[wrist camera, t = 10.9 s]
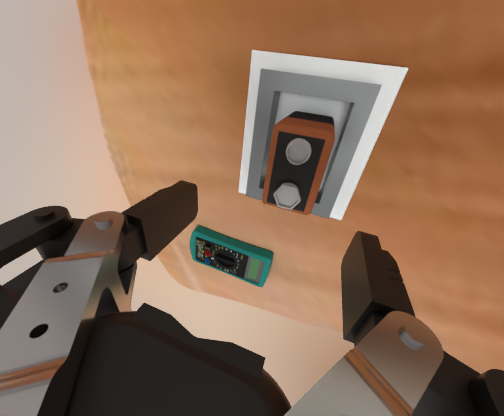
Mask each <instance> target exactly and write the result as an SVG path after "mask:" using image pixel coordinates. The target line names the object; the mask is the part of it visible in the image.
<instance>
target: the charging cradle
mask: <svg viewBox="0 0 504 416" xmlns="http://www.w3.org/2000/svg"><path fill="white" fill-rule="evenodd" d="M407 70H408V68H405V67H396V66H387V65H379V64H370V63H361V62H353V61H344V60H335V59H327V58H318V57H309V56H301V55H292V54H283V53H275V52H266V51H258V50H252V58H251V68H250V78H249V89H248V99H247V110H246V120H245V130H244V141H243V151H242V161H241V172H240V182H239V192H240V193H243V194H246V196H248V197H252V198H255V199H259V200H262V195H263V188H264V182H265V176H266V169H267V163H268V157H269V151H270V144H271V138H272V132H273V128H274V126H275V124H276V123H278V122H279V121H281V120H282V119H284V118H285V117H287V116H288V115H290V114H291V113H293V112H295V111H300V112H306V113H312V114H318V115H325V116H330V117H333V119H334V128H335V141H334V145H333V148H332V151H331V154H330V157H329V160H328V163H327V167H326V170H325V173H324V176H323V179H322V182H321V185H320V188H319V191H318V194H317V197H316V200H315V204H314V207H313V209H312V212H311V213H310V214H313V215H317V216H321V217H324V218H328V219H329V217H331V218H335V219H339V220H342V217H343V215H344V213H345V210H346V208H347V206H348V204H349V201H350V199H351V197H352V195H353V192H354V190H355V188H356V186H357V183H358V181H359V179H360V177H361V174H362V172H363V170H364V168H365V165H366V163H367V161H368V159H369V156H370V154H371V152H372V149H373V147H374V145H375V143H376V140H377V138H378V136H379V134H380V131H381V129H382V127H383V125H384V122H385V120H386V118H387V116H388V113H389V111H390V109H391V107H392V104H393V102H394V100H395V97H396V95H397V93H398V91H399V88H400V86H401V84H402V82H403V79H404V77H405V75H406V73H407Z"/></svg>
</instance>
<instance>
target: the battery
mask: <svg viewBox="0 0 504 416" xmlns="http://www.w3.org/2000/svg"><path fill="white" fill-rule="evenodd" d="M334 141H335V128H334V119H333V117H330V116H325V115H318V114H312V113H306V112H300V111H295V112H293V113H291V114H290V115H288V116H287V117H285V118H284V119H282V120H281V121H279V122H278V123H276V124H275V126H274V128H273V132H272V138H271V144H270V151H269V157H268V163H267V169H266V176H265V182H264V188H263V195H262V201H263V203H264V204H267V205H271V206H274V207H278V208H282V209H285V210H289V211H293V212H297V213H300V214H304V215H308V214H310V213H311V212H312V209H313V207H314V204H315V200H316V197H317V194H318V191H319V188H320V185H321V182H322V179H323V176H324V173H325V170H326V167H327V163H328V160H329V157H330V154H331V151H332V148H333V145H334Z"/></svg>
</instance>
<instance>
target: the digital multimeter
mask: <svg viewBox="0 0 504 416" xmlns="http://www.w3.org/2000/svg"><path fill="white" fill-rule="evenodd" d="M190 250H191V255H192V258H193V260H194V261H196V262H199V263H201V264H204V265H207V266H209V267H212V268H214V269H217V270H220V271H222V272H225V273H227V274H230V275H232V276H234V277H237V278H239V279H242V280H244V281H246V282H249V283H251V284H253V285H256V286H259V287H263V285H264V283H265V281H266V279H267V276H268V273H269V270H270V267H271V263H272V259H273V253H272V252H271V251H268V250H265V249H262V248H259V247H256V246H253V245H250V244H247V243H244V242H241V241H238V240H236V239H233V238H230V237H227V236H225V235H222V234H220V233H217V232H214V231H212V230H210V229H207V228H205V227H202V226H198V227H197V228H196V229H195V230H194V231H193V232H192V235H191V239H190Z"/></svg>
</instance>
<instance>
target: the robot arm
mask: <svg viewBox="0 0 504 416" xmlns="http://www.w3.org/2000/svg"><path fill="white" fill-rule="evenodd" d="M197 212H198V196H197V186H196V185H195V184H193V183H189V182H186V181H182V180H181V181H179V182H177V183H176V184H174V185H172V186H171V187H168V188H164V189H161V190H159V191H157V192H155V193H154V194H152V195H150V196H149V197H147V198H146V199H144V200H142V201H140V202H139V203H137V204H135V205H134V206H132V207H130V208H129V209H127V210H125V211H123V212H122V213H119V212H115V211H106V212H101V213H97V214H94V215H92V216H90V217H88V218H87V219H76V218H71V216H70V214H69V211H68V209H67V208H65V207H62V206H48V207H43V208H39V209H36V210H33V211H30V212H28V213H26V214H24V215H22V216H19V217H17V218H15V219H13V220H10V221H8V222H6V223H3V224H1V225H0V268H2V267H3V266H4V265H6V264H8V263H9V262H11V261H13V260H15V259H16V258H18V257H20V256H22V255H23V254H25V253H27V252H28V251H30V250H32V249H34V248H36V249H37V250H38V252H39V253H40V255H41V257H42V258H43V260H42V261H40V262H39V263H37V264H36V265H34V266H32V267H31V268H29V269H28V270H26V271H24V272H23V273H21V274H20V275H18V276H17V277H15V278H14V279H12V280H10V281H9V282H7V283H6V284H4V285H2V286H1V285H0V416H504V371H502V370H498V369H491V370H488V371H486V372H484V373H483V374H480V373H478V372H476V371H475V370H473V369H472V368H470V367H468V366H467V365H465V364H464V363H462V362H460V361H459V360H457V359H456V358H454V357H452V356H451V355H449V354H448V353H446V352H445V351H443V348H442V345H441V343H440V341H439V340H438V338H437V337H436V335H435V334H434V333H433V332H432V330H431V329H430V328H429V327H428V326H426V325H425V324H424V323H423V322H422V321H420V320H419V319H417V318H416V317H415V314H414V311H413V308H412V305H411V302H410V299H409V297H408V294H407V291H406V288H405V285H404V283H403V279H402V277H401V274H400V271H399V268H398V265H397V262H396V261H395V260H394V258H393V257H392V256H391V255H390V253H389V252H388V251H385V250H382V249H381V246H380V242H379V239H378V237H377V236H375V235H372V234H368V233H364V232H361V231H357V232H356V234H355V236H354V237H353V239H352V241H351V243H350V245H349V247H348V249H347V251H346V253H345V255H344V257H343V260H342V265H341V280H342V310H343V339H345V340H348V341H350V342H352V343H354V345H355V347H354V348H353V349H352V350H350V351H349V352H348V353H347V354H346V355H345V356H344V357H343V358H342V359H341V360H339V361H338V362H337V363H336V364H335V365H334V366H333V367H332V369H330V370H329V371H328V372H327V373H326V374H325V375H324V376H323V377H322V378H321V379H320V380H319V381H318V382H317V383H316V384H315V385H314V386H313V387H312V388H311V390H309V391H308V392H307V393H306V394H305V395H304V396H303V397H302V398H301V399H300V400H299V401H298V402H297V403H296V404H295V405H294V406H293V407H291V405H290V403H289V401H288V399H287V398H286V396H285V394H284V392H283V391H282V389H281V388H280V387H279V385H278V384H277V382H275V380H274V379H273V378H272V377H271V376H270V375H269V374H268V373H267V372H266V371H265V370H264V369H263V365H264V360H265V357H262V356H260V355H258V354H256V353H254V352H252V351H249V350H247V349H245V348H243V347H241V346H238V345H236V344H234V343H231V342H224V341H217V340H209V339H202V338H197V337H195V336H193V335H192V334H191V333H190V332H189V331H188V330H187V329H185V328H184V327H183V326H182V325H181V324H180V323H179V322H178V321H177V320H176V319H175V318H174V317H173V316H172V315H170V314H168V313H166V312H163V311H161V310H159V309H157V308H155V307H152V306H150V305H148V304H146V303H143V305H142V306H141V307H140V308H139V309H138V310H137V311H132V310H131V299H132V293H133V287H134V280H135V275H136V269H137V262H136V261H137V260H138V259H139V258H140V257H141V258H144V259H146V260H149V261H151V260H152V259H153V258H154V257H155V256H156V255H157V254H158V253H159V252H160V251H162V250H163V249H164V248H165V247H166V246H167V245H168V244H169V243H170V242H171V241H172V240H173V239H174V238H175V237H176V236H177V235H178V234H179V233H181V232H182V231H183V230H184V229H185V228H186V227H187V226H188V225H189V224H190V223H191V222H192V221H193V220H194V219H195V217H196V215H197Z"/></svg>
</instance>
